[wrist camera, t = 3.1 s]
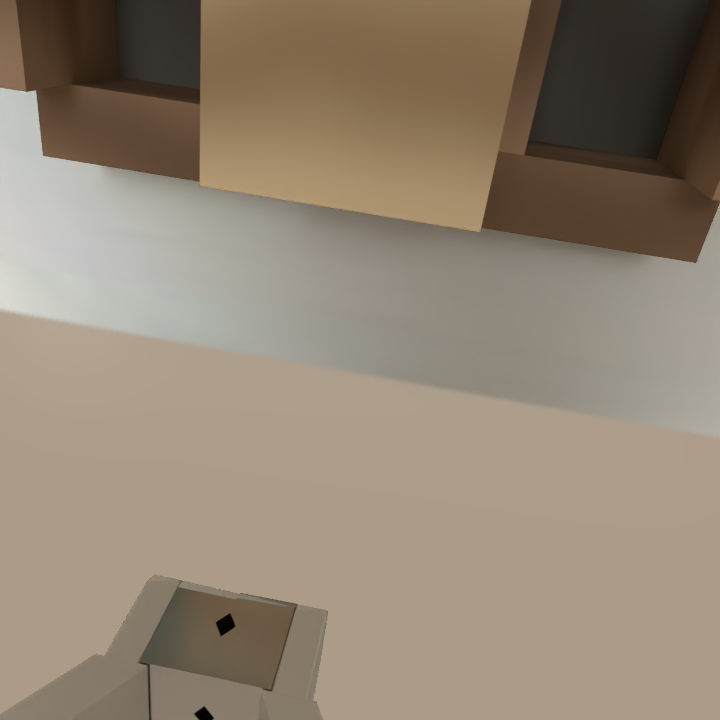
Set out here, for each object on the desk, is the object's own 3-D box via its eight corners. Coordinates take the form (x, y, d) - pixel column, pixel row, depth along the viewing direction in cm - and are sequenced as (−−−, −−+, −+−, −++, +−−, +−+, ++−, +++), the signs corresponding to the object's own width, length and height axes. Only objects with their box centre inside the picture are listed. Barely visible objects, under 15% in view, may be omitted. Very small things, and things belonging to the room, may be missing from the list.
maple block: (265, -124, 14) (202, -170, 11) (535, -88, 14) (558, -124, 11) (253, 152, 17) (199, 186, 14) (476, 188, 17) (480, 232, 13)
